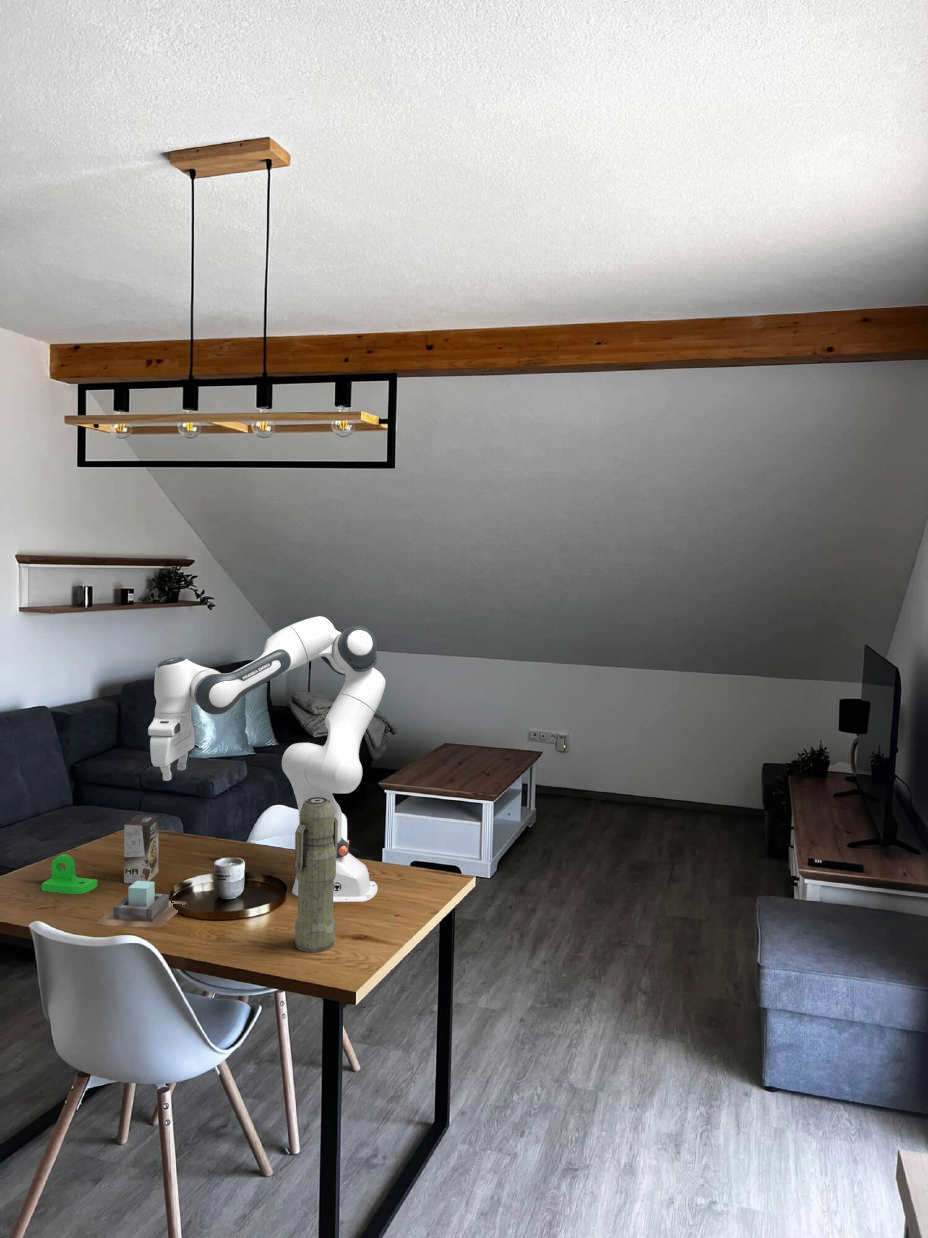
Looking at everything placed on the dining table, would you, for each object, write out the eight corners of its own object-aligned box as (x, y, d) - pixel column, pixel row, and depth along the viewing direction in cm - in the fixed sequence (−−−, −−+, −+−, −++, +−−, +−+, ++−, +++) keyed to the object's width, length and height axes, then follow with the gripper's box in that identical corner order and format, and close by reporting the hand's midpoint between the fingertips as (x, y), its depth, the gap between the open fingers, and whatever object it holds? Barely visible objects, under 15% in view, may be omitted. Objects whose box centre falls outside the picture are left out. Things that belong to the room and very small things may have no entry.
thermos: (346, 946, 208) (349, 797, 205) (314, 967, 198) (317, 809, 195) (315, 937, 213) (318, 790, 210) (282, 957, 202) (284, 803, 199)
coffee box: (147, 884, 241) (147, 825, 240) (123, 883, 242) (123, 824, 240) (159, 872, 250) (159, 815, 249) (136, 871, 251) (136, 814, 249)
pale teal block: (154, 909, 223) (154, 881, 223) (146, 917, 219) (146, 888, 218) (136, 908, 224) (136, 880, 223) (128, 915, 219) (128, 887, 219)
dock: (186, 905, 228) (186, 890, 228) (159, 933, 213) (159, 916, 212) (125, 901, 230) (125, 886, 230) (93, 928, 214) (93, 912, 214)
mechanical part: (41, 891, 236) (41, 861, 235) (56, 882, 242) (56, 853, 241) (83, 895, 233) (83, 865, 233) (97, 887, 239) (97, 857, 239)
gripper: (177, 712, 241) (178, 763, 243) (144, 730, 221) (146, 785, 223) (200, 713, 241) (201, 764, 243) (170, 731, 221) (171, 786, 222)
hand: (174, 774), depth 232 cm, fingers open, 8 cm apart
